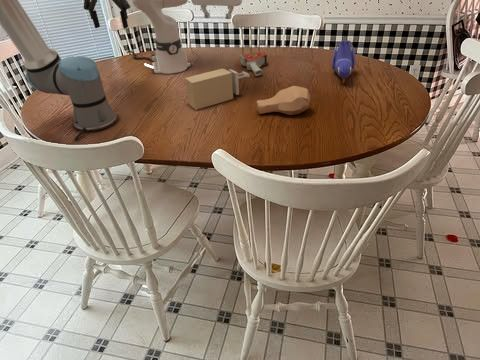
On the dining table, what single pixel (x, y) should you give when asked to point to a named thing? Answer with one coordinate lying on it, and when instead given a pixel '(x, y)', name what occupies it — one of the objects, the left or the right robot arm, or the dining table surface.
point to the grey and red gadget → (254, 62)
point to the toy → (343, 59)
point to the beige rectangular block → (209, 88)
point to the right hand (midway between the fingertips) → (217, 18)
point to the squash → (286, 101)
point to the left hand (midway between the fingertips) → (111, 27)
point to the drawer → (235, 80)
